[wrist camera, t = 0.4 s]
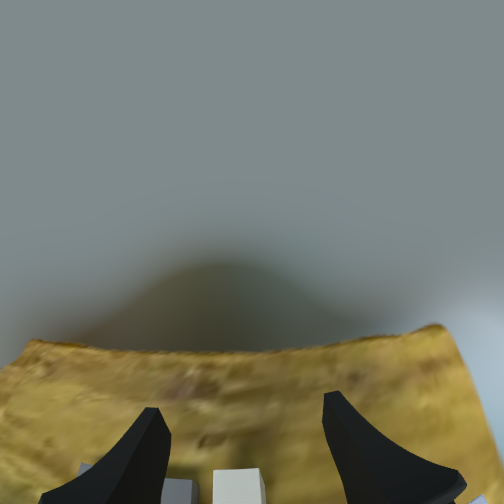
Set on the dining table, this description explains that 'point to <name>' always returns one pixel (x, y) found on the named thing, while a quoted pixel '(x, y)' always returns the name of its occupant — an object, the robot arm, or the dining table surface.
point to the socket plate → (170, 489)
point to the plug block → (238, 487)
